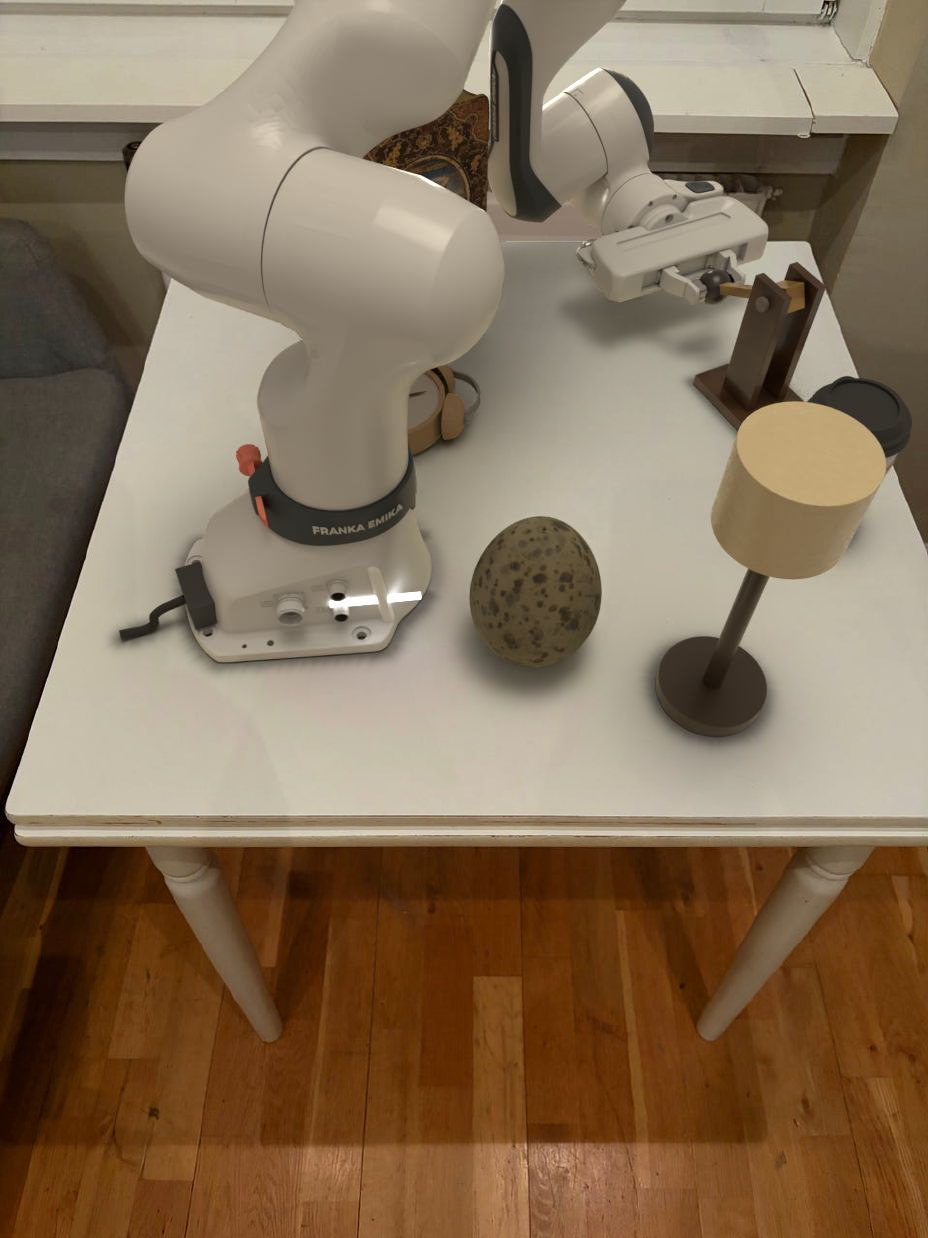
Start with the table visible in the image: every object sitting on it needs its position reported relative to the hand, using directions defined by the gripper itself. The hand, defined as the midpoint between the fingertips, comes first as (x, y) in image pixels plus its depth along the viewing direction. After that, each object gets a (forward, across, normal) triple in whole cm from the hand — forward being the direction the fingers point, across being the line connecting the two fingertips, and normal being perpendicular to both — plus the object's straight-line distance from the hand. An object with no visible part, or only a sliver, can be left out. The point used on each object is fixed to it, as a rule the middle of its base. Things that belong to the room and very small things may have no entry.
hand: (720, 290), depth 100 cm
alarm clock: (-4, -34, +8) cm, 35 cm away
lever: (+5, 0, -1) cm, 5 cm away
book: (-18, -28, +8) cm, 34 cm away
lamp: (+37, -25, +8) cm, 45 cm away
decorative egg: (+26, -36, +8) cm, 45 cm away
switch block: (+9, 0, +8) cm, 12 cm away
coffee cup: (+25, -5, +9) cm, 27 cm away
